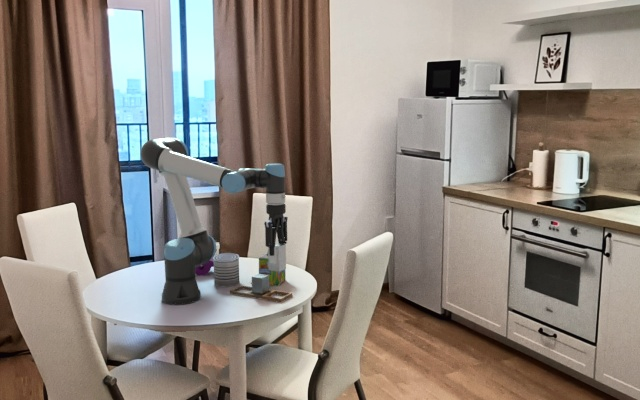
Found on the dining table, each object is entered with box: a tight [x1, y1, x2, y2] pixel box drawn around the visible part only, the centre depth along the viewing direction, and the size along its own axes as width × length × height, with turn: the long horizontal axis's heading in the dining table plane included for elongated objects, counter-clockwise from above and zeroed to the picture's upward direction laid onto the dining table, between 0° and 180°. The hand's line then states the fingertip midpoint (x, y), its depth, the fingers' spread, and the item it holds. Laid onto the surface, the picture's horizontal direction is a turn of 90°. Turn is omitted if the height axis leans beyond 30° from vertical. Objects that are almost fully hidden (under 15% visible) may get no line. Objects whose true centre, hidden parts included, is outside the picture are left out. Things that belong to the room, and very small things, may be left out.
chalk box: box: [258, 252, 286, 287], centre depth 265 cm, size 9×9×15 cm
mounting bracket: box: [195, 258, 214, 277], centre depth 282 cm, size 9×8×18 cm
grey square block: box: [267, 242, 287, 272], centre depth 242 cm, size 5×5×10 cm
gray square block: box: [251, 273, 270, 296], centre depth 248 cm, size 5×5×8 cm
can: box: [213, 252, 240, 288], centre depth 265 cm, size 11×11×12 cm
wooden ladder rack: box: [229, 284, 293, 303], centre depth 248 cm, size 9×25×1 cm, turn 62°
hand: (277, 261), depth 242 cm, fingers closed on grey square block, 5 cm apart
